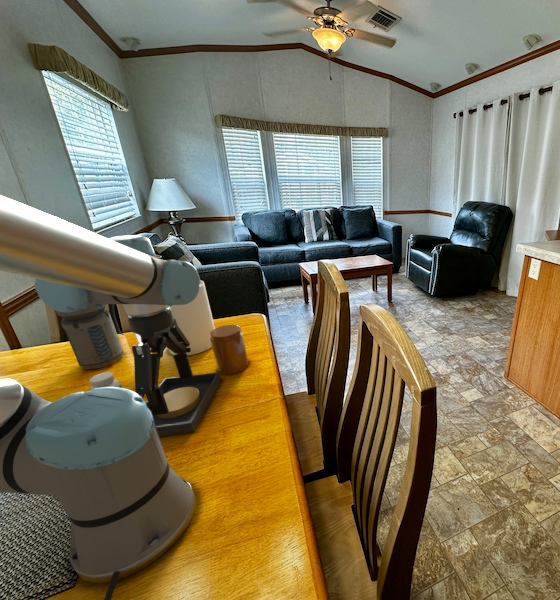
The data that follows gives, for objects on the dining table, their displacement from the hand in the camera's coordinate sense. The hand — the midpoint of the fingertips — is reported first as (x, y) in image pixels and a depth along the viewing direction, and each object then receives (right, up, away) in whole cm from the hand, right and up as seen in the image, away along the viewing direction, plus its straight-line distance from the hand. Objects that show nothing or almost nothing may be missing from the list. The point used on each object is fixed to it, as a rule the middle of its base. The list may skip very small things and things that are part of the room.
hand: (175, 393), depth 76 cm
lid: (0, -2, +1) cm, 2 cm away
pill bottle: (-14, -4, 0) cm, 15 cm away
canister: (-14, +7, +29) cm, 33 cm away
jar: (+5, +3, +17) cm, 18 cm away
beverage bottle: (-35, +4, +21) cm, 41 cm away
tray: (0, -3, +1) cm, 4 cm away
